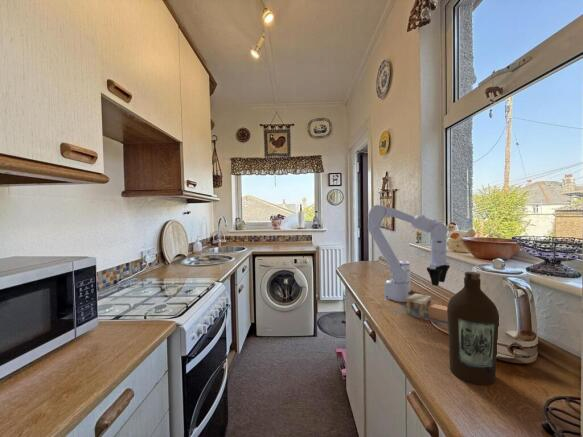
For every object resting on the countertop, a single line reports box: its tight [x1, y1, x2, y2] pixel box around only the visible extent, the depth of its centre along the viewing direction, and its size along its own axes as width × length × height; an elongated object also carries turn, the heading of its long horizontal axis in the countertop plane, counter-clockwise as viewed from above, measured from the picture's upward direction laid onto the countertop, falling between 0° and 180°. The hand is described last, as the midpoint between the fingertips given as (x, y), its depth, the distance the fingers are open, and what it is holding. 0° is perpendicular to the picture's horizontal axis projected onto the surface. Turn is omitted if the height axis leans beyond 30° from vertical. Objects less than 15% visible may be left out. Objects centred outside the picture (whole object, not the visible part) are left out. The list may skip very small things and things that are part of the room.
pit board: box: [393, 304, 448, 326], centre depth 103 cm, size 21×10×1 cm, turn 44°
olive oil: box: [446, 271, 500, 386], centre depth 67 cm, size 11×11×25 cm
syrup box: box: [399, 260, 412, 293], centre depth 138 cm, size 6×6×14 cm
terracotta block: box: [428, 303, 448, 322], centre depth 98 cm, size 11×4×4 cm, turn 44°
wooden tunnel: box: [405, 292, 432, 319], centre depth 105 cm, size 6×8×6 cm
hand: (438, 283), depth 115 cm, fingers open, 7 cm apart
